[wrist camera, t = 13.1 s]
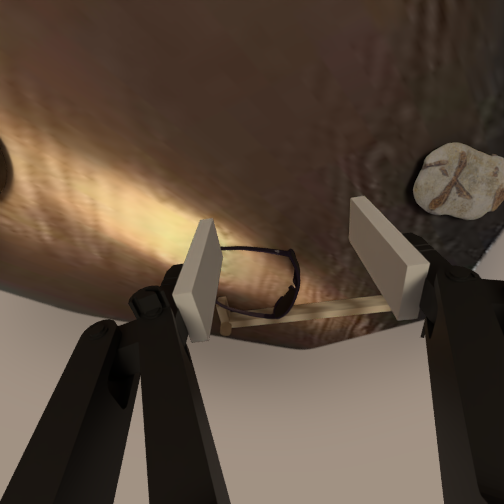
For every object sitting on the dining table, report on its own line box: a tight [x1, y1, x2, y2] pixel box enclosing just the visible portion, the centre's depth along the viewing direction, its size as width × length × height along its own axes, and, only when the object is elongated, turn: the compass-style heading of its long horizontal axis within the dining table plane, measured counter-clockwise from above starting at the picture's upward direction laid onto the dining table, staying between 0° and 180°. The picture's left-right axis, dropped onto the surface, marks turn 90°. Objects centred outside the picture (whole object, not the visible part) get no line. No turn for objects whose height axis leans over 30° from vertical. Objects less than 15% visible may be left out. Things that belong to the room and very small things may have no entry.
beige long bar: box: [216, 295, 392, 336], centre depth 48 cm, size 32×6×4 cm, turn 100°
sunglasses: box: [215, 246, 300, 319], centre depth 45 cm, size 14×16×5 cm
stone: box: [413, 143, 504, 220], centre depth 36 cm, size 12×9×3 cm
